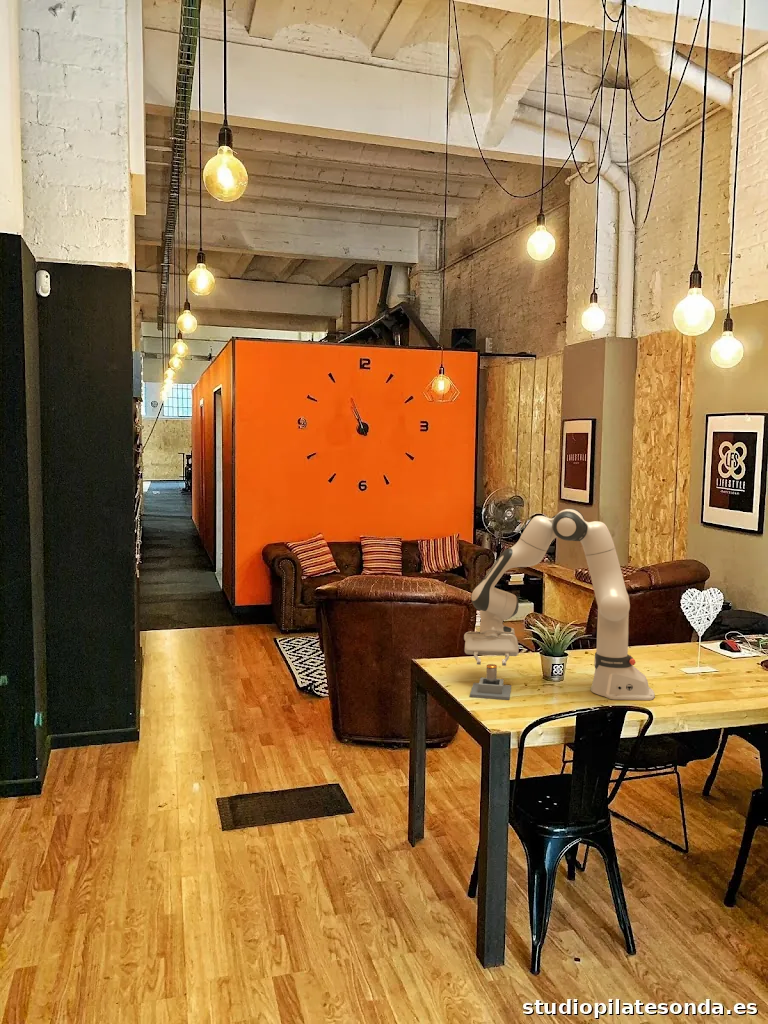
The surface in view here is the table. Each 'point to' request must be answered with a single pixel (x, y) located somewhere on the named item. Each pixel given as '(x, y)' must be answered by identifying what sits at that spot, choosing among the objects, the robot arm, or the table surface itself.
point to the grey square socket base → (491, 690)
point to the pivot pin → (491, 674)
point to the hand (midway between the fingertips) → (491, 664)
